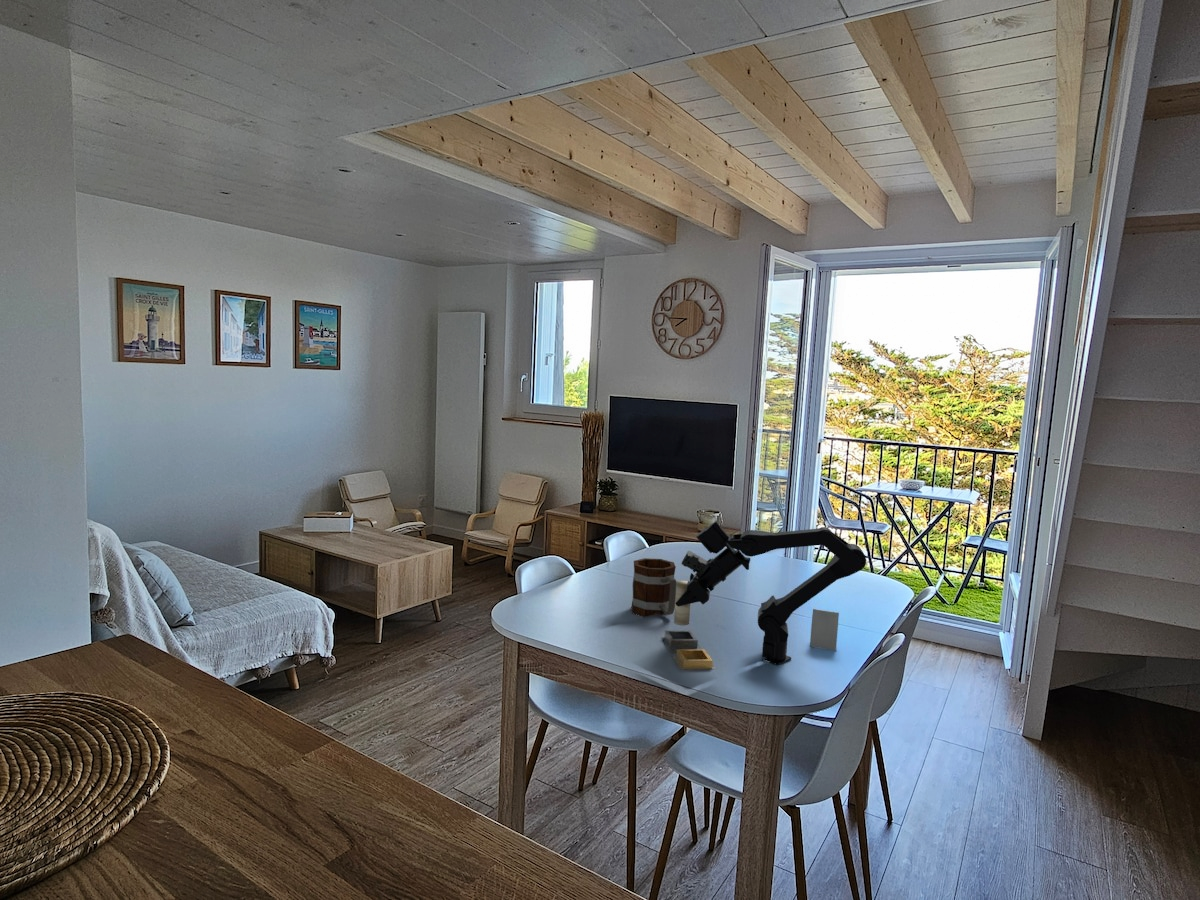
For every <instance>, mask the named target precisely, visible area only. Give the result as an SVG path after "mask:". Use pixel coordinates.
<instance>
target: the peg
mask: <svg viewBox="0 0 1200 900" xmlns="http://www.w3.org/2000/svg"><path fill="white" fill-rule="evenodd" d="M688 581H689V580H676V597H675V603H676V602H677V601H678V599H679V598H680V597H681V596H682V595H683V594H684V592H685V591H686V590H687V583H688ZM690 612H691V604H687V605H683V606H679V607H678V606H677V605H676V604H675V609H674V618H673V619H674V620H673V623H674V624H675V625H676V626H688V625H689V626H690V618H691V617H690V616H691V613H690Z"/></svg>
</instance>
